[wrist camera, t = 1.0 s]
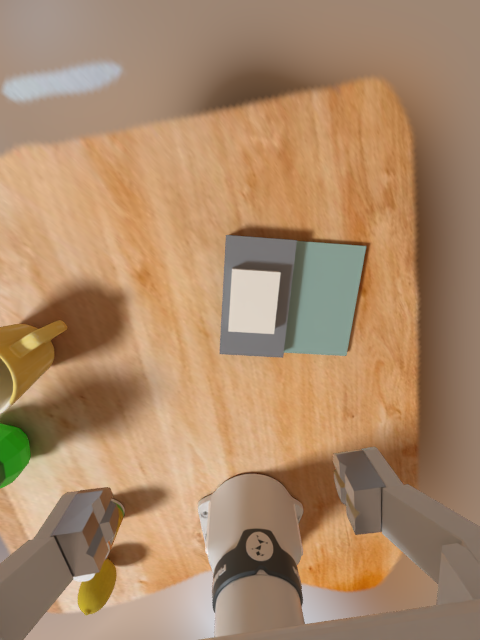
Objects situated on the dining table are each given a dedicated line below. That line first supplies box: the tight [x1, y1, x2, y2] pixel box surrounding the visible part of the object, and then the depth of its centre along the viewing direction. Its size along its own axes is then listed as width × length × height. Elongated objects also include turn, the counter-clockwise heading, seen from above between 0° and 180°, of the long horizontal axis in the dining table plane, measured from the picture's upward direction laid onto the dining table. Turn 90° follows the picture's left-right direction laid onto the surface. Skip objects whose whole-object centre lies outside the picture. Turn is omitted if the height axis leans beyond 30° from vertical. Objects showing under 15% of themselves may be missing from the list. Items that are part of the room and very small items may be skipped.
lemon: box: [78, 559, 116, 615], centre depth 47 cm, size 6×6×8 cm
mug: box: [0, 320, 68, 414], centre depth 35 cm, size 14×10×10 cm
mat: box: [284, 241, 366, 356], centre depth 39 cm, size 16×10×1 cm, turn 176°
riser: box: [220, 235, 297, 357], centre depth 38 cm, size 16×9×3 cm, turn 176°
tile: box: [228, 268, 281, 334], centre depth 35 cm, size 8×6×2 cm
